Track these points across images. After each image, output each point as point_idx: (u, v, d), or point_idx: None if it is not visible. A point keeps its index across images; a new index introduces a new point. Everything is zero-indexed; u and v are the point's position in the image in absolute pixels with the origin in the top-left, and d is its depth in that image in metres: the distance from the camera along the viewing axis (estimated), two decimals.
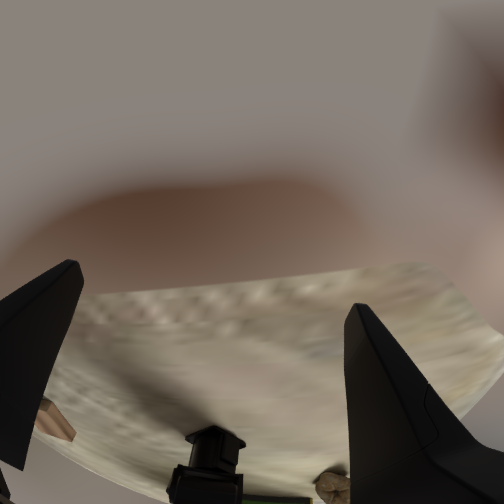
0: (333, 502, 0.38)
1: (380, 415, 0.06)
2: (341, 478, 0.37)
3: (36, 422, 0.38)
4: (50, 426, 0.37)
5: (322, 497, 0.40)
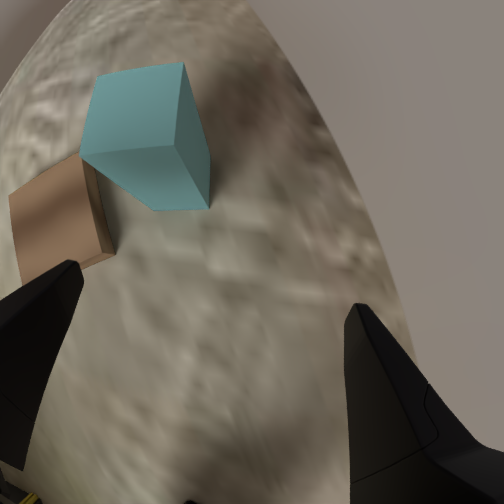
0: None
1: (380, 415, 0.06)
2: None
3: (34, 194, 0.20)
4: (46, 241, 0.20)
5: None
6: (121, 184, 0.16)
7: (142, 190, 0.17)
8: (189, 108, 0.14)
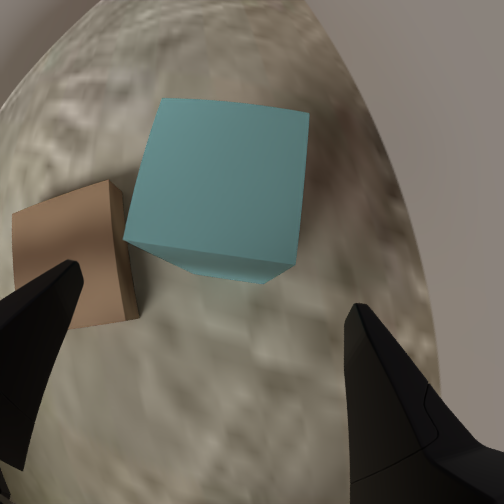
0: None
1: (380, 415, 0.06)
2: None
3: (43, 221, 0.17)
4: None
5: None
6: (170, 261, 0.12)
7: (195, 268, 0.14)
8: None
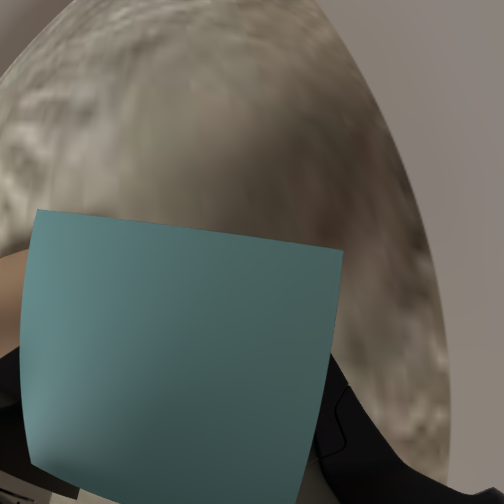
0: None
1: None
2: None
3: None
4: None
5: None
6: None
7: None
8: None
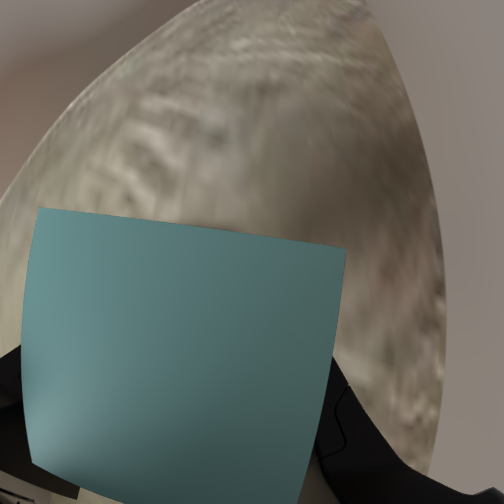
0: None
1: None
2: None
3: None
4: None
5: None
6: None
7: None
8: None
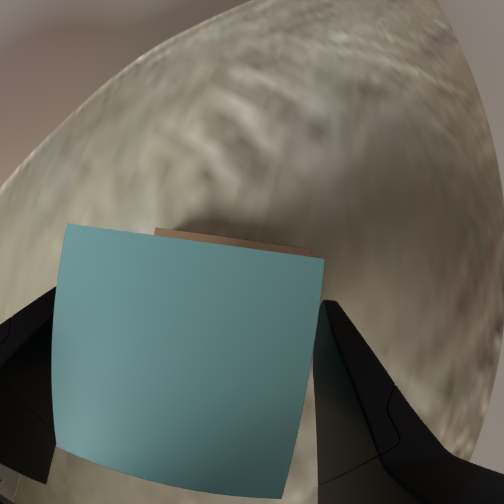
0: None
1: (342, 416, 0.06)
2: None
3: None
4: None
5: None
6: None
7: None
8: None
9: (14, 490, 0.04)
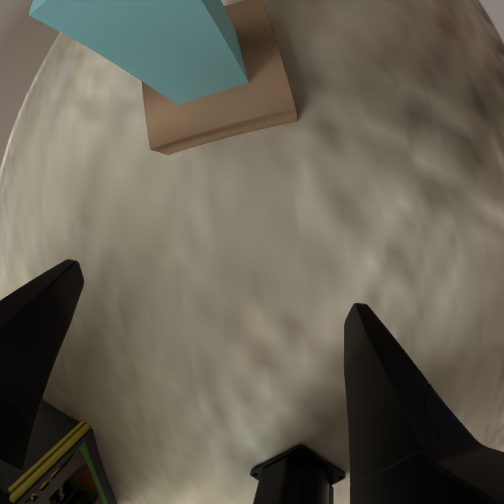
0: None
1: (380, 415, 0.06)
2: None
3: None
4: None
5: None
6: (111, 57, 0.09)
7: (145, 61, 0.10)
8: None
9: None
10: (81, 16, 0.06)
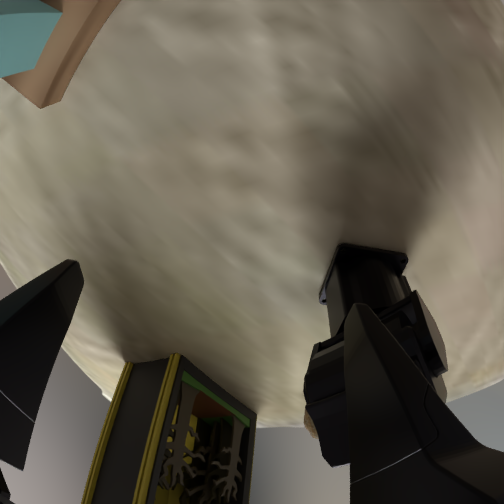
0: None
1: (380, 415, 0.06)
2: None
3: None
4: None
5: None
6: None
7: None
8: None
9: None
10: None
